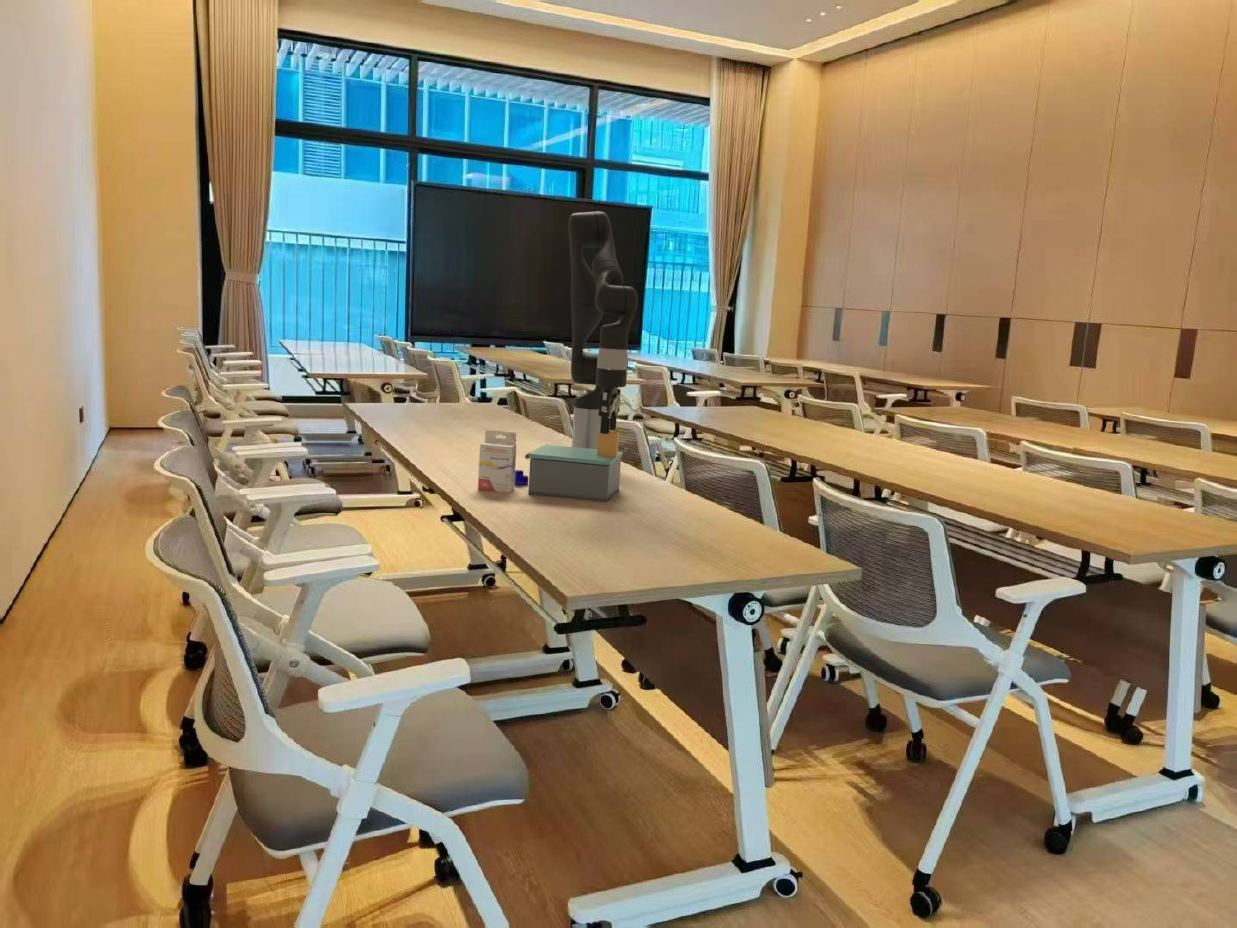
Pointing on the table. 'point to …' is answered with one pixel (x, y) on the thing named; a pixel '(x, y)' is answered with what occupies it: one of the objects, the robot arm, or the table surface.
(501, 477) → the ink cartridge box
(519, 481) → the cable holder
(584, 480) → the box
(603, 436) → the lid
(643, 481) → the table surface
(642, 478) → the table surface
